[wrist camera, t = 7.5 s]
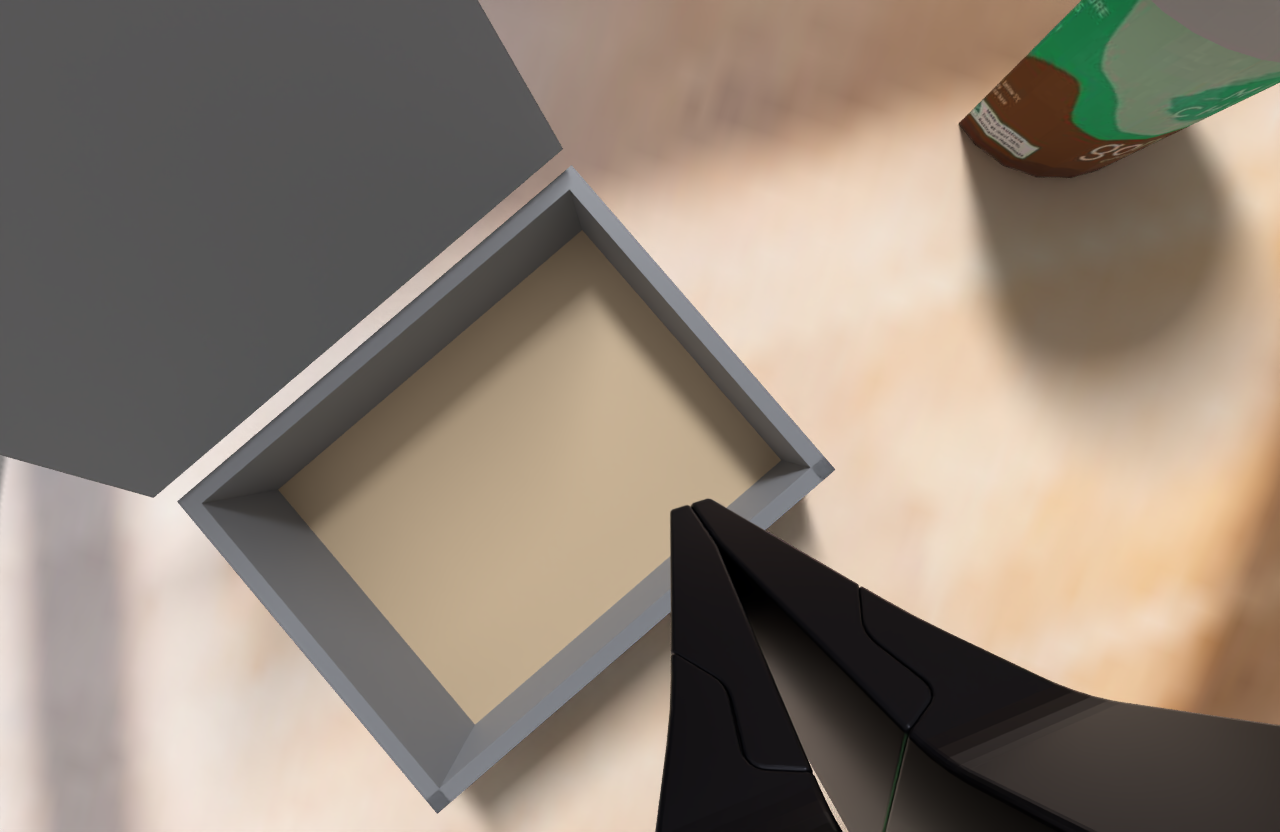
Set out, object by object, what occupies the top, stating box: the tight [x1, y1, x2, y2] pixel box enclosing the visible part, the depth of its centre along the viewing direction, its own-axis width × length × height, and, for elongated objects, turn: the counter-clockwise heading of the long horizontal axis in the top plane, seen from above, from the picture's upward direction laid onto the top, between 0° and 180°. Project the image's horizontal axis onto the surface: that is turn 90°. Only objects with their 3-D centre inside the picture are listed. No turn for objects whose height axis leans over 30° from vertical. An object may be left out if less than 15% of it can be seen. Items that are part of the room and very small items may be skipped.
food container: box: [959, 0, 1280, 178], centre depth 15 cm, size 12×6×10 cm, turn 122°
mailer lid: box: [0, 0, 563, 498], centre depth 10 cm, size 14×18×1 cm
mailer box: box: [177, 165, 835, 814], centre depth 18 cm, size 14×18×4 cm
